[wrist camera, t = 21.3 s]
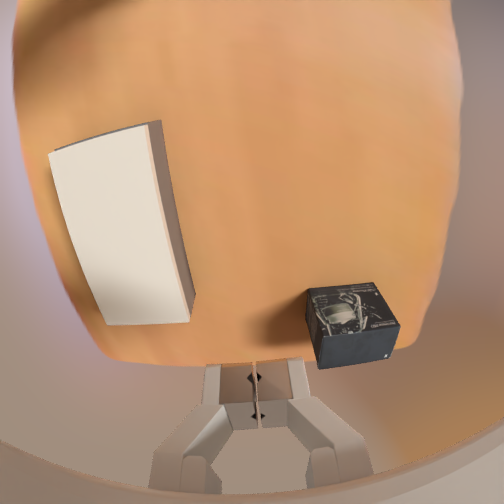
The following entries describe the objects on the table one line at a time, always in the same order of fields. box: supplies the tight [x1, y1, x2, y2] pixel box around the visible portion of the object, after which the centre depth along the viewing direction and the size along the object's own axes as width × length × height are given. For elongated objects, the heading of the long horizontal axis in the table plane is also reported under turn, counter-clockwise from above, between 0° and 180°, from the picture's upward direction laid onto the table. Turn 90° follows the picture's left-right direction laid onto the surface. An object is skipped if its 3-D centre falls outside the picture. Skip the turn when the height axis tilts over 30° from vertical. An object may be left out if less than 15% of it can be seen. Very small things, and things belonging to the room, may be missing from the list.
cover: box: [48, 124, 190, 325], centre depth 30 cm, size 24×12×1 cm, turn 5°
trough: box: [55, 120, 196, 317], centre depth 33 cm, size 24×13×5 cm, turn 5°
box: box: [305, 283, 401, 369], centre depth 38 cm, size 11×7×10 cm, turn 93°
